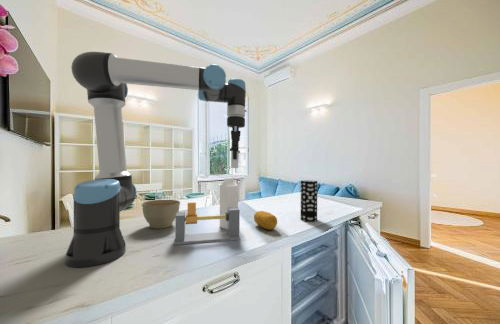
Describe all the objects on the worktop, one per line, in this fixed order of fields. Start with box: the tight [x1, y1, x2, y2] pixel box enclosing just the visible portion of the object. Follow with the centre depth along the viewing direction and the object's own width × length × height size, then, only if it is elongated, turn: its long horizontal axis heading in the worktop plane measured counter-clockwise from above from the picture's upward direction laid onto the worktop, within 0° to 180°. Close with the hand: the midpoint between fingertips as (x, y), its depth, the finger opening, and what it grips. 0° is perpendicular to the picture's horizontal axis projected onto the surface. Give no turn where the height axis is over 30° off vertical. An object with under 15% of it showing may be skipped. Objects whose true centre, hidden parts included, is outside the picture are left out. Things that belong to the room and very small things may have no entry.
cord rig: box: [173, 206, 241, 246], centre depth 82 cm, size 24×8×11 cm, turn 104°
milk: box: [219, 177, 239, 230], centre depth 97 cm, size 6×6×22 cm
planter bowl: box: [141, 199, 181, 229], centre depth 98 cm, size 16×16×11 cm
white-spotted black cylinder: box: [300, 180, 318, 223], centre depth 110 cm, size 8×8×20 cm
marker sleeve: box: [185, 201, 198, 225], centre depth 80 cm, size 4×3×8 cm
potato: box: [253, 210, 278, 231], centre depth 96 cm, size 7×14×7 cm, turn 26°
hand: (235, 167), depth 89 cm, fingers open, 13 cm apart
